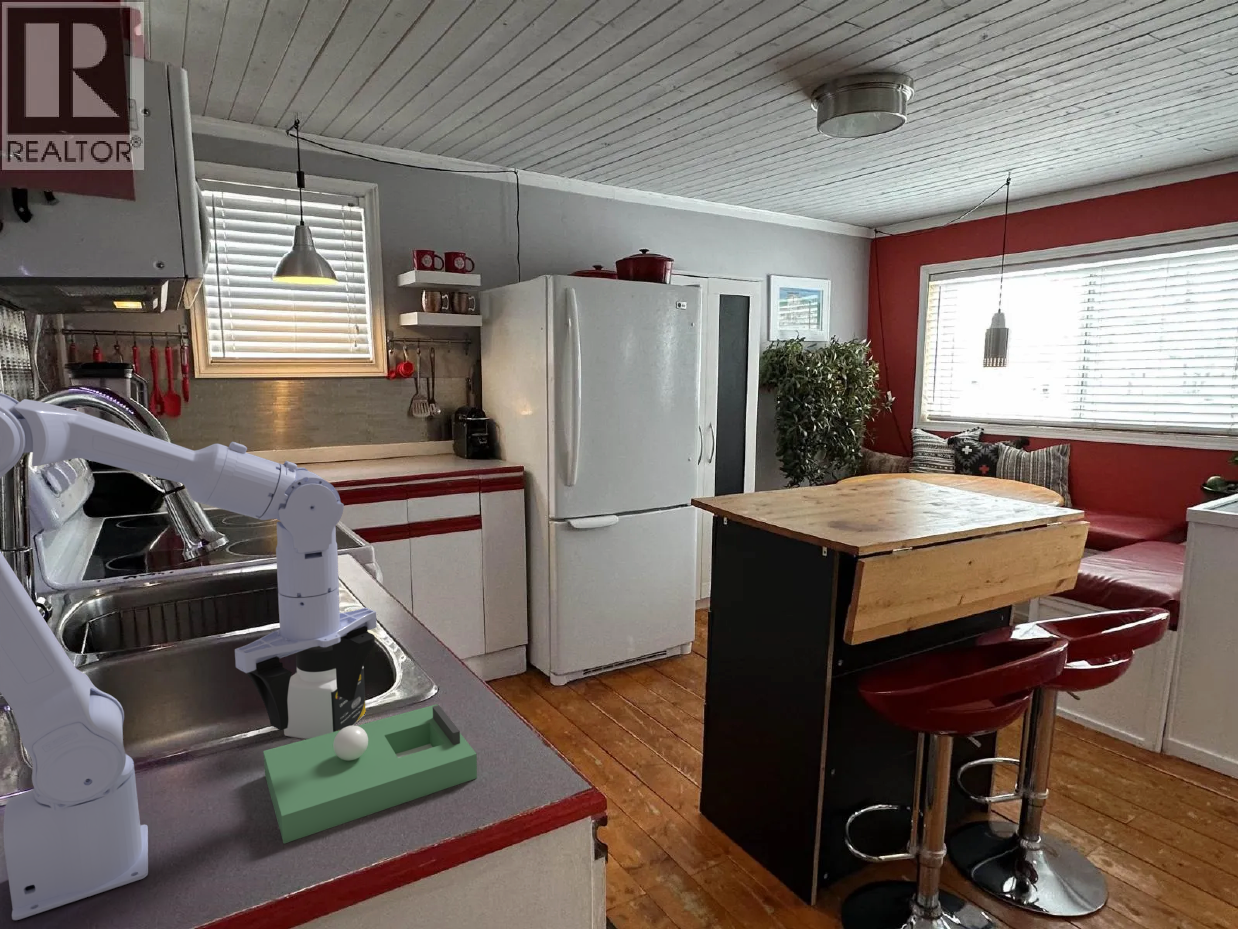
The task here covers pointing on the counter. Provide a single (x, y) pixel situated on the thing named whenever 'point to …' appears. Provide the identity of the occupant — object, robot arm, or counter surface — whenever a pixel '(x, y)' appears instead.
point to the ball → (350, 743)
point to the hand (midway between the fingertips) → (314, 711)
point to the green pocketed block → (366, 771)
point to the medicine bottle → (320, 696)
